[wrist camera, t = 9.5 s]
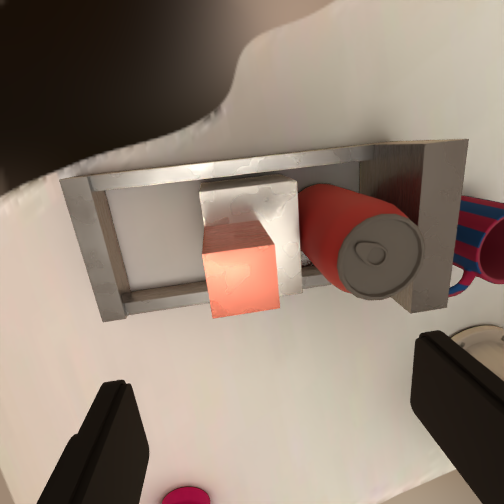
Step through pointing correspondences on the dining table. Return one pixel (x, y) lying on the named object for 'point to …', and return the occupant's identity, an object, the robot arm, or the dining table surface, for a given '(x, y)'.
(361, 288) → the beer can
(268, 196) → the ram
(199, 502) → the pepper mill
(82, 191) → the press frame
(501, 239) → the mug
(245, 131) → the dining table surface
